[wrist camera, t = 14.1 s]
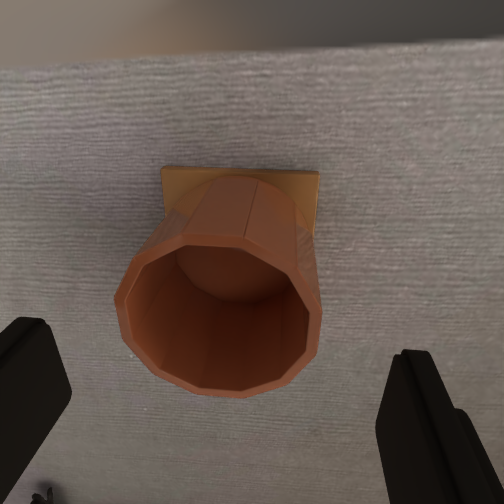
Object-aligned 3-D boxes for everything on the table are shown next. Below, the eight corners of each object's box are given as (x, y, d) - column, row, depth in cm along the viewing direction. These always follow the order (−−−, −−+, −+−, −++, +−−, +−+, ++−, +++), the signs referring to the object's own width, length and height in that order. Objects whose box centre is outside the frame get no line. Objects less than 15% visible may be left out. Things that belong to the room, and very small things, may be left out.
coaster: (319, 170, 16) (320, 174, 15) (306, 300, 19) (306, 307, 18) (163, 165, 16) (159, 169, 16) (177, 292, 20) (174, 298, 19)
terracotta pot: (317, 178, 15) (332, 240, 10) (304, 306, 18) (310, 404, 13) (162, 172, 16) (98, 228, 10) (175, 298, 19) (132, 389, 14)
